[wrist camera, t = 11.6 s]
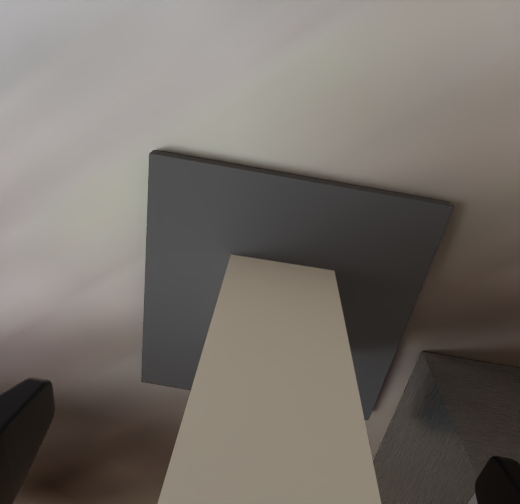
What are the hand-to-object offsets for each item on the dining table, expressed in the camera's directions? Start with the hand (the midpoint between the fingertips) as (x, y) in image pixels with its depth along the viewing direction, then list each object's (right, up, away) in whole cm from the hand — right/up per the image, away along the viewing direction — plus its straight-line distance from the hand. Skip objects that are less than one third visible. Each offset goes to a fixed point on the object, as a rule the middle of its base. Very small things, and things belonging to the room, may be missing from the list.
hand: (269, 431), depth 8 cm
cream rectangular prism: (0, +2, +4) cm, 5 cm away
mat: (0, +2, +4) cm, 5 cm away
